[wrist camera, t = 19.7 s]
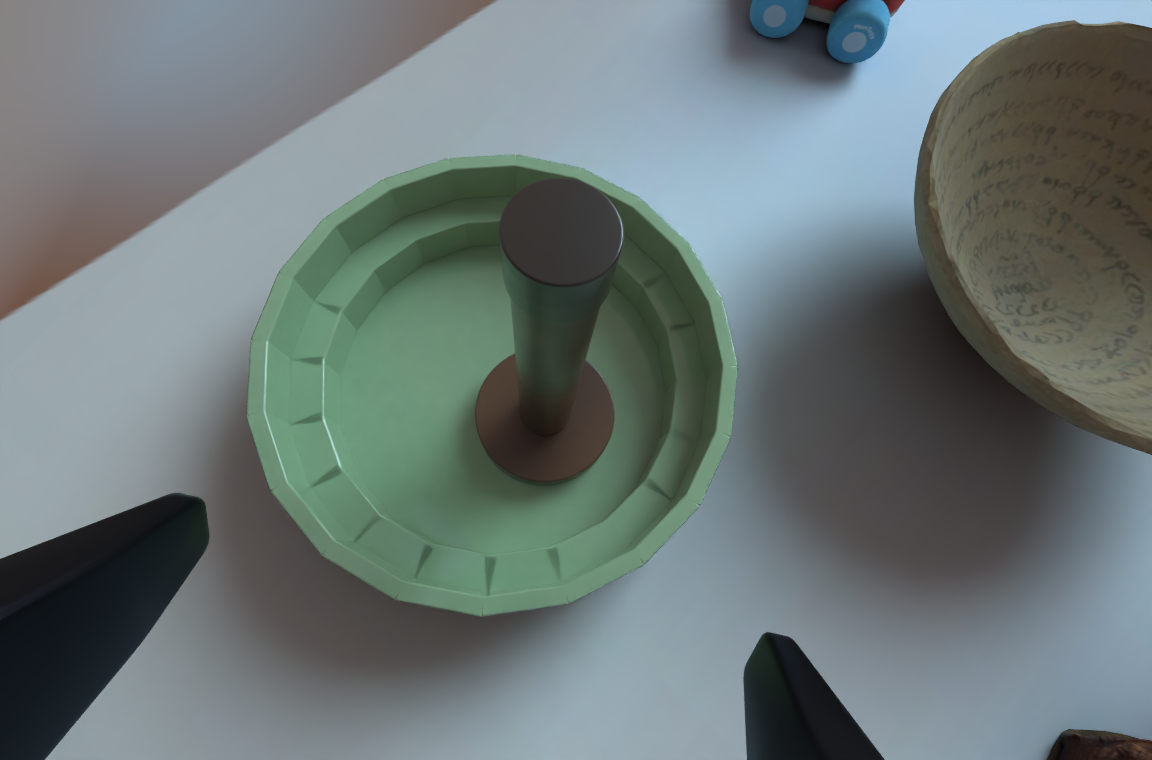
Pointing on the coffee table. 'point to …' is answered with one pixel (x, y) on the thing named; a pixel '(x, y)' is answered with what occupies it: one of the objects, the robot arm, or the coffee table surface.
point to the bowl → (1050, 219)
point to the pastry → (1100, 746)
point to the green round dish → (451, 386)
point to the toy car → (830, 22)
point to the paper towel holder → (552, 334)
